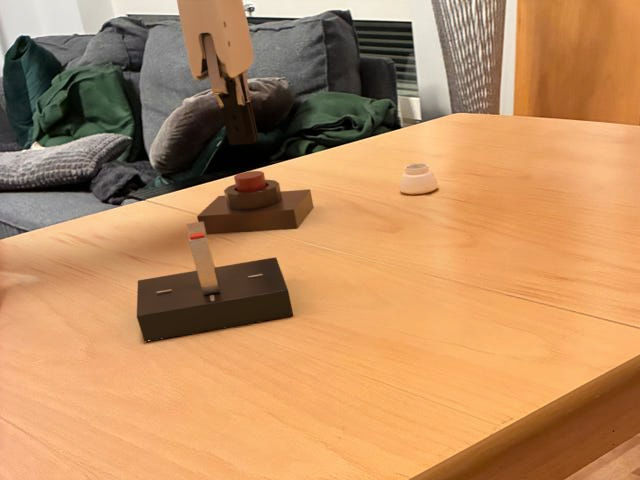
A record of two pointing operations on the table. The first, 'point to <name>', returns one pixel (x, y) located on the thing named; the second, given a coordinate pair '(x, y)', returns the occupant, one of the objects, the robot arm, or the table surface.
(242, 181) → the button
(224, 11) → the robot arm
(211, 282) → the grey switch lever
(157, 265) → the table surface
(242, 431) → the table surface
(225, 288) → the lever switch base
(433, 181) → the white jar
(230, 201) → the button block
